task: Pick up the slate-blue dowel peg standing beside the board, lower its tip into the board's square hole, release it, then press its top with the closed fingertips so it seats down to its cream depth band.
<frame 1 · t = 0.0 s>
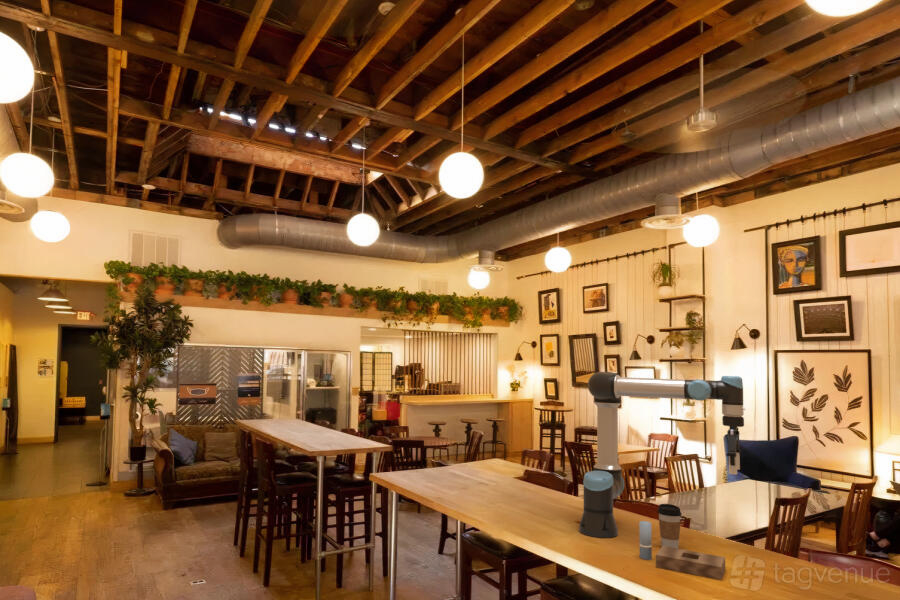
hand: (734, 471, 217), 28 cm above the table, fingers open, 13 cm apart
board: (690, 568, 189), on the table
coffee cup: (669, 548, 211), on the table
peg: (645, 557, 198), on the table
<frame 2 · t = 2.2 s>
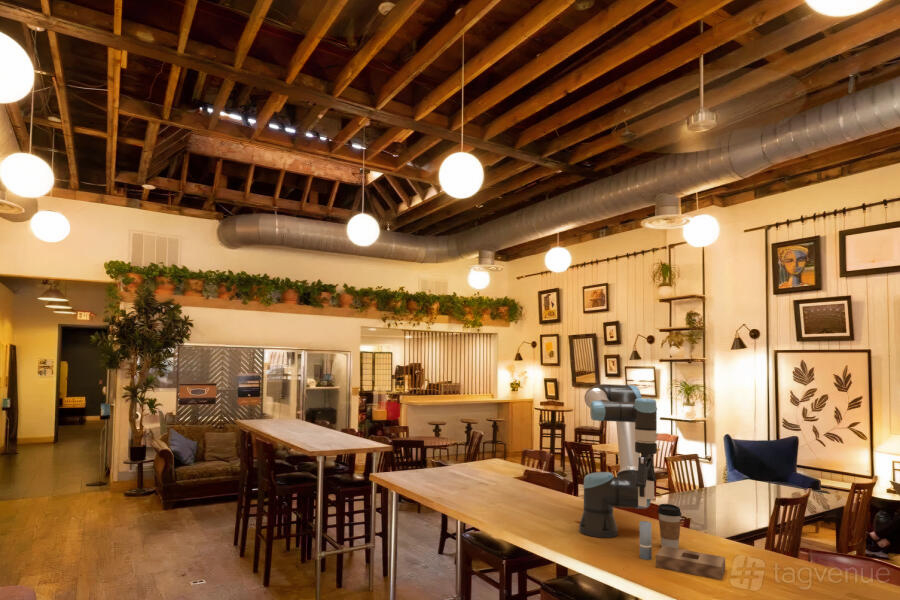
hand: (646, 502, 201), 19 cm above the table, fingers open, 13 cm apart
nothing on the table moved.
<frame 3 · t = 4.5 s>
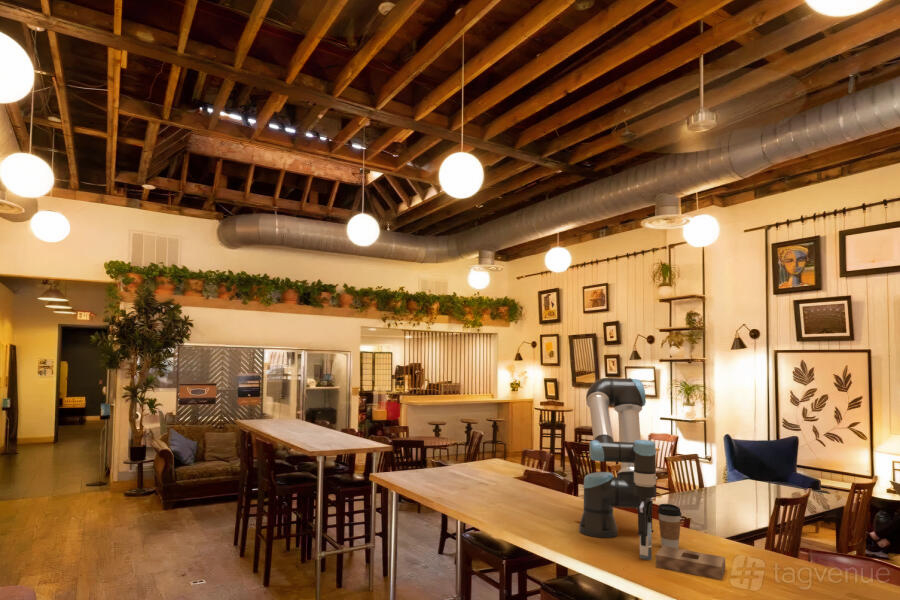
hand: (645, 552, 198), 2 cm above the table, fingers closed on peg, 4 cm apart
peg: (645, 557, 198), on the table, touching gripper
everything else where it was.
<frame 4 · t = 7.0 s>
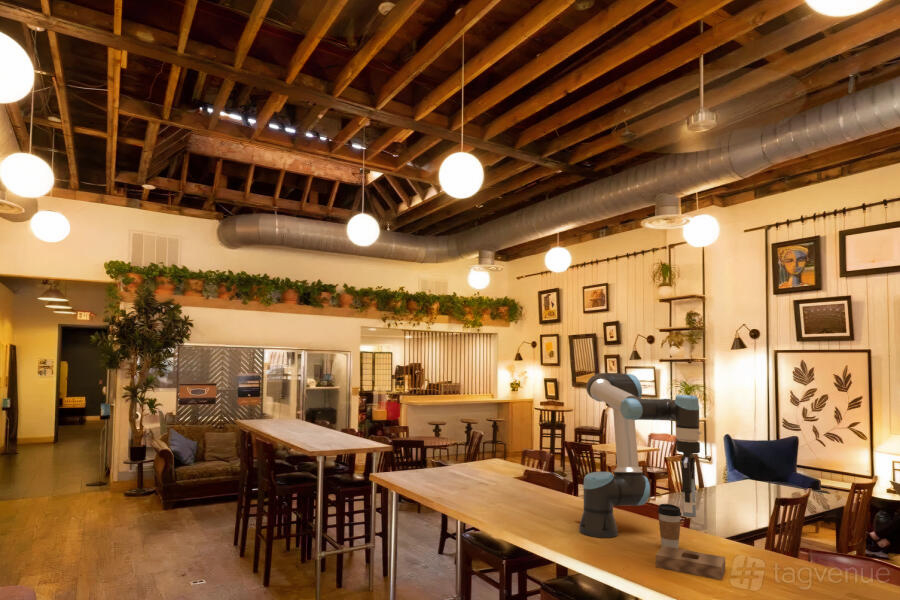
hand: (689, 510, 191), 19 cm above the table, fingers closed on peg, 4 cm apart
peg: (689, 515, 191), point 17 cm above the table, touching gripper
everything else where it was.
when the fingers open (5 cm above the table, at t = 9.7 s): peg drops 3 cm, resting in board.
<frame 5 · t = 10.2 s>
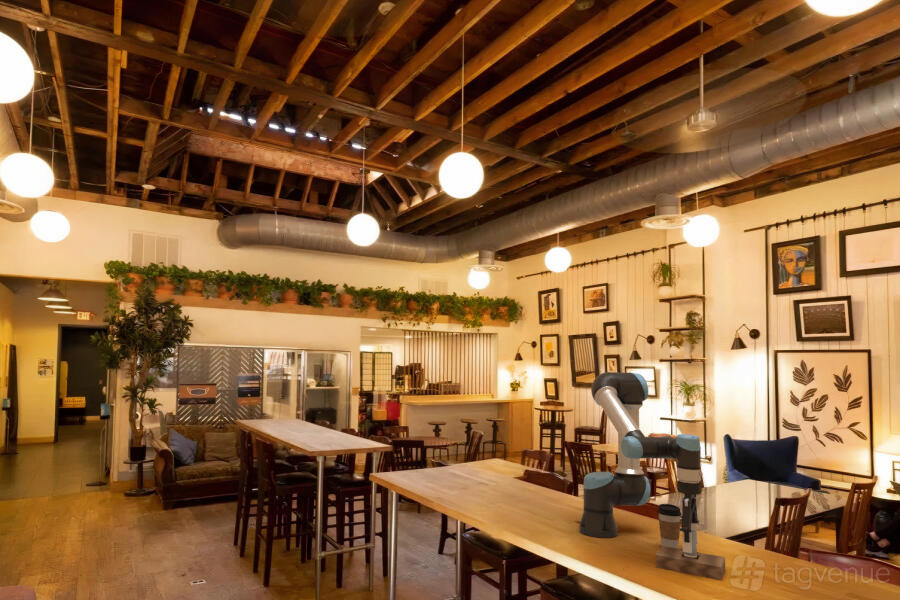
hand: (690, 547, 190), 7 cm above the table, fingers open, 11 cm apart
peg: (690, 568, 189), resting in board
everything else where it was.
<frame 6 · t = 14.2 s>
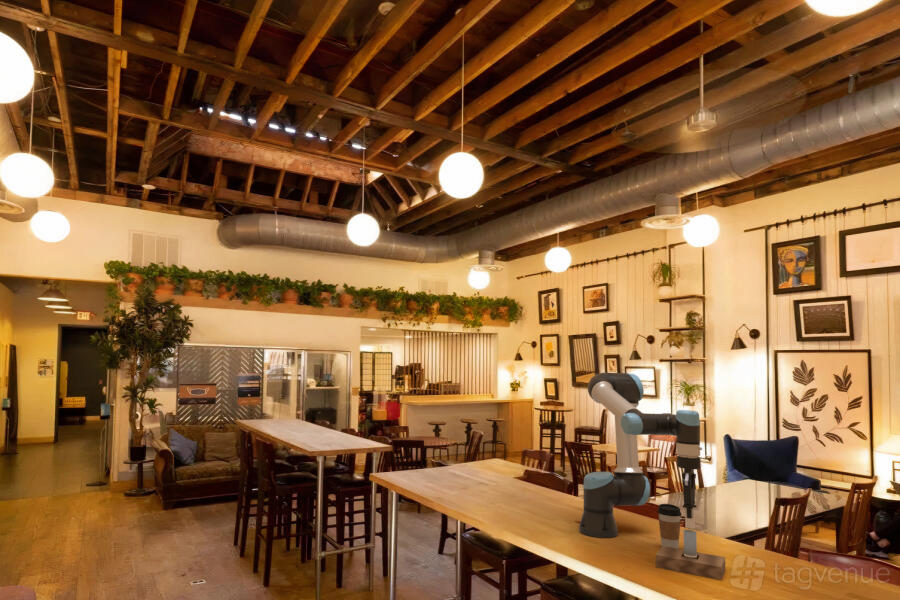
hand: (690, 527, 190), 13 cm above the table, fingers closed
nothing on the table moved.
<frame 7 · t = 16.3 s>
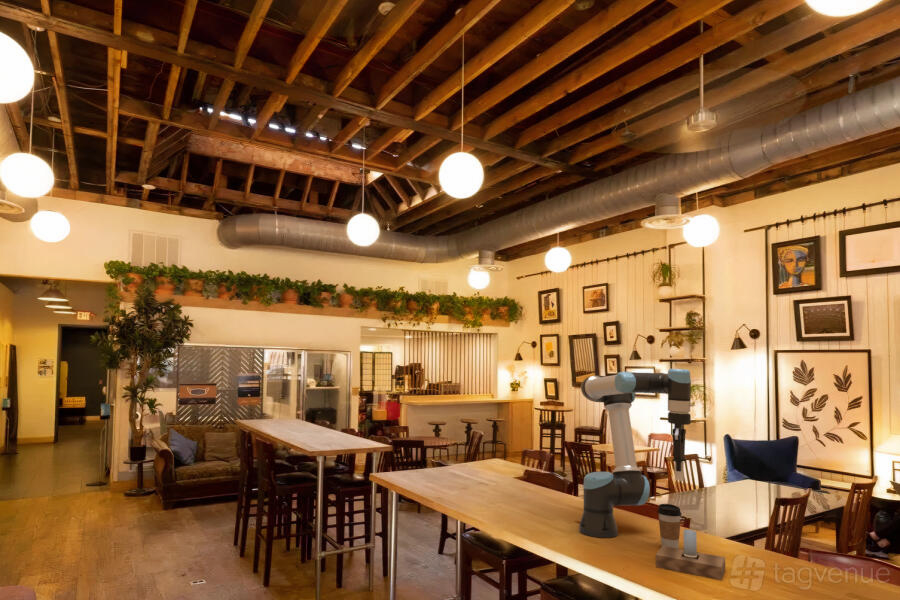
hand: (679, 480, 198), 28 cm above the table, fingers closed
nothing on the table moved.
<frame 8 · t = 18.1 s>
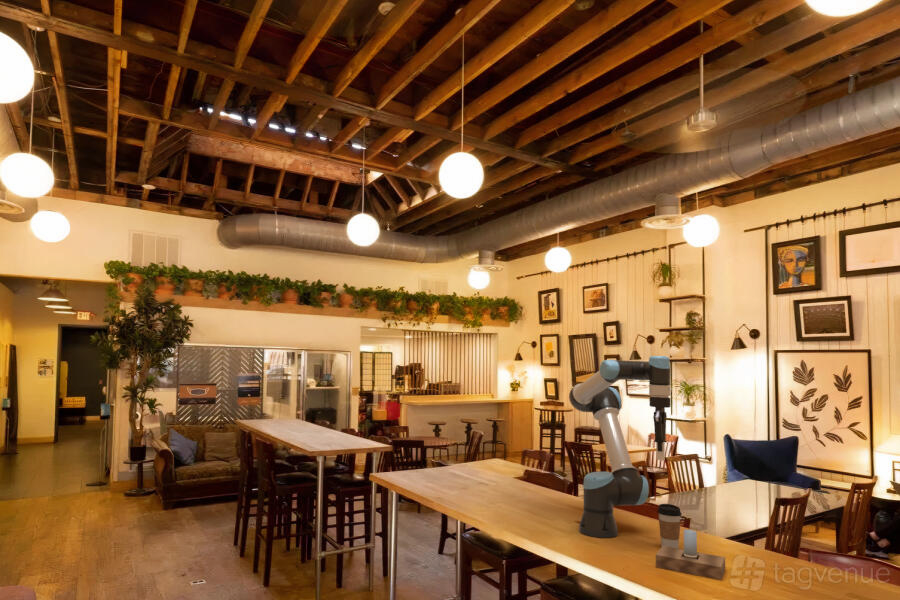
hand: (660, 460, 212), 32 cm above the table, fingers closed
nothing on the table moved.
at the end: peg 0.0 cm off-centre on the board, point 0.0 cm above the board's base; peg tilted 0°; the gripper is holding nothing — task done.
